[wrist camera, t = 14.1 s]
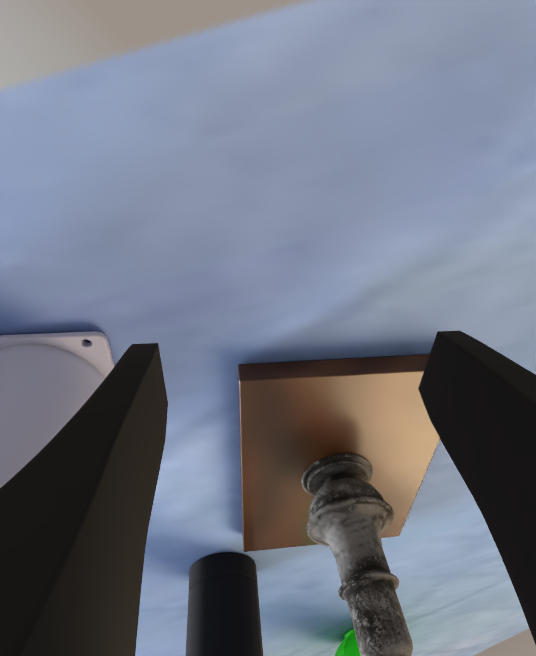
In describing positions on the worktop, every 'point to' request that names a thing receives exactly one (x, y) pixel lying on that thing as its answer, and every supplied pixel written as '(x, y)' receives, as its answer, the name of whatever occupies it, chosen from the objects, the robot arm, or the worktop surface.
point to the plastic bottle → (348, 645)
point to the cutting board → (328, 437)
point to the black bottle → (223, 607)
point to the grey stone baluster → (358, 549)
